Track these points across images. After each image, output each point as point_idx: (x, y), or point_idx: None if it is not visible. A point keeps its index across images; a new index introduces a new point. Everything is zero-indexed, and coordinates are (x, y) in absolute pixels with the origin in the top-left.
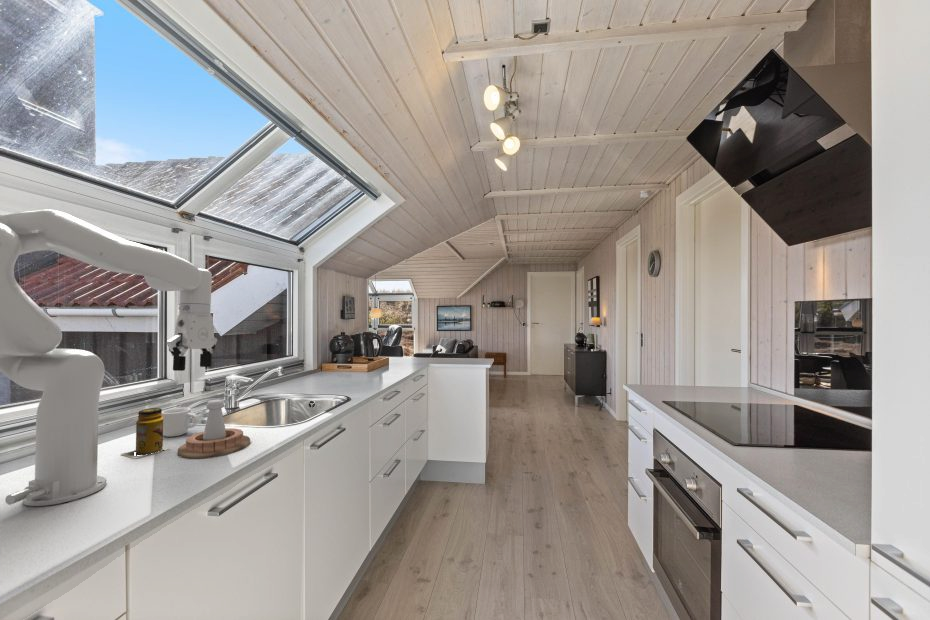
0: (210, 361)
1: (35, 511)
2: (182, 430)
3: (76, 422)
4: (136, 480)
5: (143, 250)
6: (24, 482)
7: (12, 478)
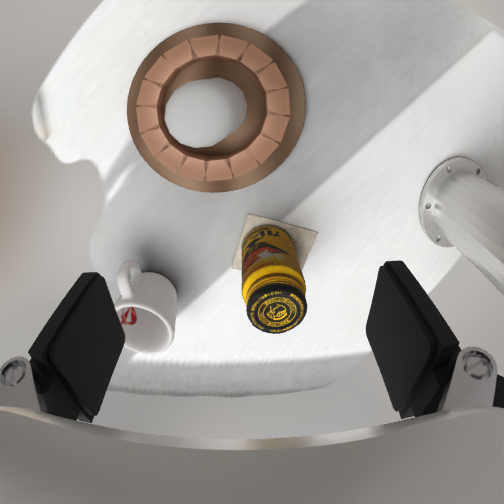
0: (71, 298)
1: None
2: (152, 275)
3: None
4: (419, 129)
5: None
6: None
7: None
